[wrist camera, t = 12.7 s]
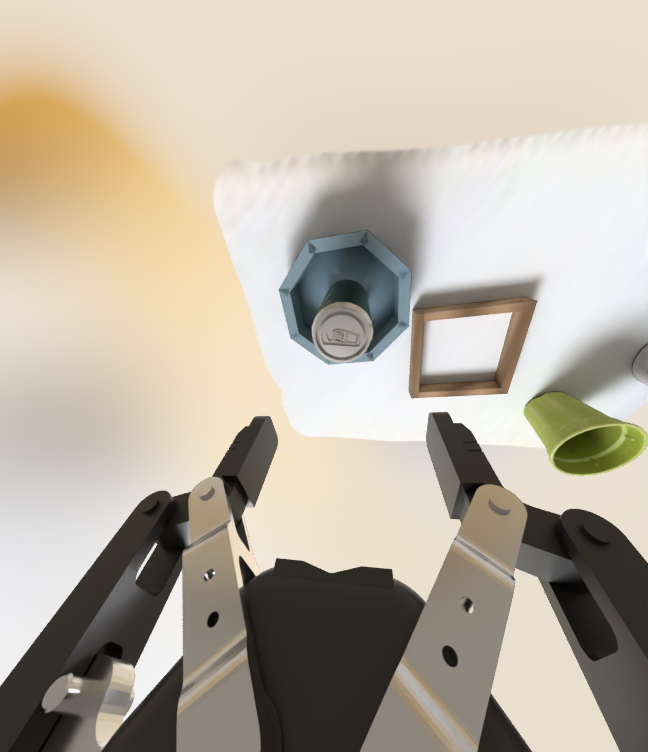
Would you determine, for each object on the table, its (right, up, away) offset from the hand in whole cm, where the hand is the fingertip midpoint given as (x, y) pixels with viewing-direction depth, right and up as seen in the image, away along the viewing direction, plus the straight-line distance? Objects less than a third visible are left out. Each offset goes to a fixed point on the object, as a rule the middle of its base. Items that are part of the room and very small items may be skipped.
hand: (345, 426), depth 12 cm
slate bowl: (+2, +13, +18) cm, 22 cm away
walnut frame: (+18, +6, +20) cm, 28 cm away
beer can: (+2, +12, +18) cm, 22 cm away
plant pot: (+33, -2, +24) cm, 41 cm away
